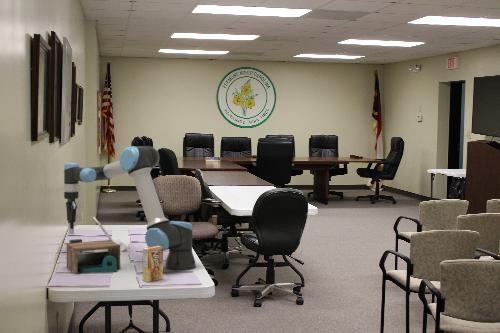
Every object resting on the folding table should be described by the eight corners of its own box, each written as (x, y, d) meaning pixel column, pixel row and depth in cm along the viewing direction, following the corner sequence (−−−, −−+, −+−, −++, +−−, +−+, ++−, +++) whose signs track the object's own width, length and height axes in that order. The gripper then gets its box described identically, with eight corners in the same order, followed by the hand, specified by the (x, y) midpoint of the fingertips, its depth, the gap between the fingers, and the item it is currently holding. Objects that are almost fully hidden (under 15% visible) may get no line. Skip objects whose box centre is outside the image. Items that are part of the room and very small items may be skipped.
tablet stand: (95, 253, 357) (95, 223, 356) (89, 245, 380) (89, 216, 379) (128, 251, 364) (128, 221, 363) (120, 243, 387) (120, 215, 386)
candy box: (157, 277, 304) (157, 245, 303) (163, 279, 301) (163, 246, 300) (142, 280, 298) (142, 248, 297) (148, 282, 295) (148, 249, 294)
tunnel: (120, 269, 320) (120, 245, 319) (75, 274, 308) (75, 249, 307) (109, 263, 333) (109, 239, 332) (66, 267, 322) (66, 243, 321)
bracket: (117, 269, 321) (117, 253, 320) (116, 272, 314) (116, 256, 314) (79, 270, 318) (79, 254, 317) (78, 273, 311) (78, 257, 311)
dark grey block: (109, 264, 329) (109, 246, 329) (71, 268, 319) (71, 249, 319) (92, 254, 352) (92, 237, 352) (56, 257, 342) (56, 240, 342)
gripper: (81, 192, 347) (81, 235, 349) (74, 189, 358) (74, 231, 360) (67, 192, 343) (67, 236, 345) (61, 190, 354) (60, 232, 356)
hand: (71, 234), depth 352 cm, fingers closed
